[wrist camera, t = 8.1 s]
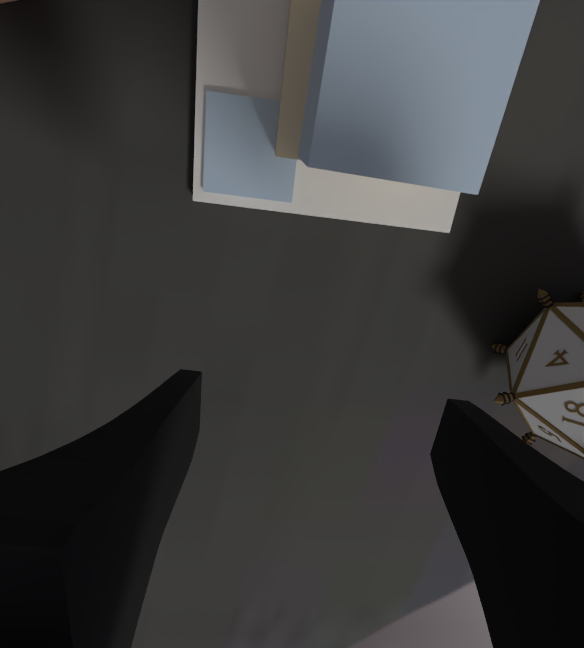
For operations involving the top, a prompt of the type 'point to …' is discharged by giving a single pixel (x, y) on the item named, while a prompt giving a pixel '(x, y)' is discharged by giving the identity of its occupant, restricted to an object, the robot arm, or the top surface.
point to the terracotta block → (5, 0)
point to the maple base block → (296, 75)
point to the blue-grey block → (412, 87)
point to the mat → (261, 132)
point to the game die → (549, 374)
